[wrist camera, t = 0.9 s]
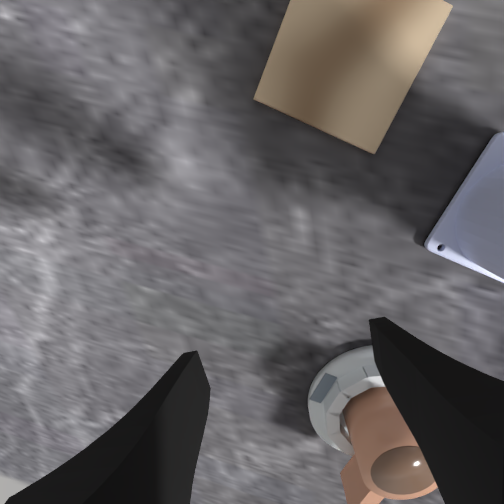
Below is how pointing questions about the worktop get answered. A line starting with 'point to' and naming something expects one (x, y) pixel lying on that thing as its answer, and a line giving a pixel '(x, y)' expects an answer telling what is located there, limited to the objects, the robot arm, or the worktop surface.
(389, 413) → the mug
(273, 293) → the worktop surface
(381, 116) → the mat
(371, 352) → the plate
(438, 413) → the robot arm
